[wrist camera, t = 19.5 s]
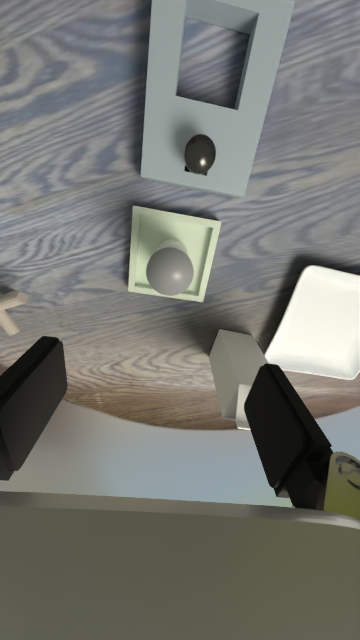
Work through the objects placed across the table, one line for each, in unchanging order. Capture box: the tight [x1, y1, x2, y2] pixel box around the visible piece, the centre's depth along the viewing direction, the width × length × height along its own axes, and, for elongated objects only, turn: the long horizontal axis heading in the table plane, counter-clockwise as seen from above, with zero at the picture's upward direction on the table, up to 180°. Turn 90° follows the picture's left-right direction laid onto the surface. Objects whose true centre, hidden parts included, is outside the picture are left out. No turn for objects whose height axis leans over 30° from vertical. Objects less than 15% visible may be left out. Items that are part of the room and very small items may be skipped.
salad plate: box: [264, 265, 360, 380], centre depth 41 cm, size 21×21×3 cm
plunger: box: [184, 134, 216, 174], centre depth 27 cm, size 4×4×6 cm
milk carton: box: [209, 329, 269, 430], centre depth 35 cm, size 7×7×19 cm
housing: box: [141, 0, 296, 198], centre depth 24 cm, size 14×24×3 cm, turn 171°
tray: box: [128, 206, 221, 302], centre depth 34 cm, size 13×13×2 cm
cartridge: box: [146, 239, 194, 296], centre depth 30 cm, size 6×6×10 cm
